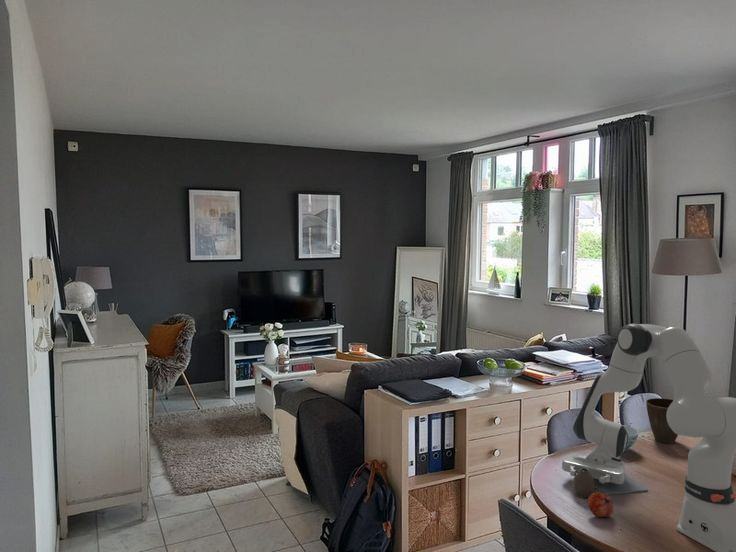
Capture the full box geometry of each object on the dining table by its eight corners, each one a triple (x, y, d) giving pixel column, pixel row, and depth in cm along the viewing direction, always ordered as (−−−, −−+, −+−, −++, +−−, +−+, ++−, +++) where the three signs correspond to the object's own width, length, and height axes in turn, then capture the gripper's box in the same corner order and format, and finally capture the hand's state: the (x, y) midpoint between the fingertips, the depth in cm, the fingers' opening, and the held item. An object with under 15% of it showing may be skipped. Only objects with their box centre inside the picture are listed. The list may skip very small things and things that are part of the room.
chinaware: (632, 443, 242) (632, 424, 241) (642, 457, 227) (643, 437, 226) (594, 440, 244) (594, 422, 244) (601, 454, 230) (602, 435, 229)
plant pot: (654, 446, 238) (655, 408, 237) (638, 434, 253) (640, 397, 251) (691, 447, 237) (693, 408, 236) (673, 434, 252) (675, 398, 251)
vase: (596, 501, 190) (597, 474, 189) (574, 499, 191) (575, 473, 191) (592, 491, 197) (593, 466, 196) (571, 489, 198) (572, 464, 197)
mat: (647, 491, 197) (648, 489, 197) (604, 494, 194) (604, 493, 194) (609, 465, 219) (609, 463, 219) (570, 468, 216) (570, 466, 216)
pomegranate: (583, 519, 182) (598, 513, 174) (579, 495, 186) (593, 487, 178) (605, 521, 183) (621, 514, 174) (601, 497, 187) (616, 489, 179)
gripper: (569, 448, 212) (555, 460, 201) (629, 462, 200) (618, 475, 189) (568, 465, 213) (555, 478, 202) (628, 480, 200) (617, 494, 189)
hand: (586, 477), depth 195 cm, fingers open, 8 cm apart
